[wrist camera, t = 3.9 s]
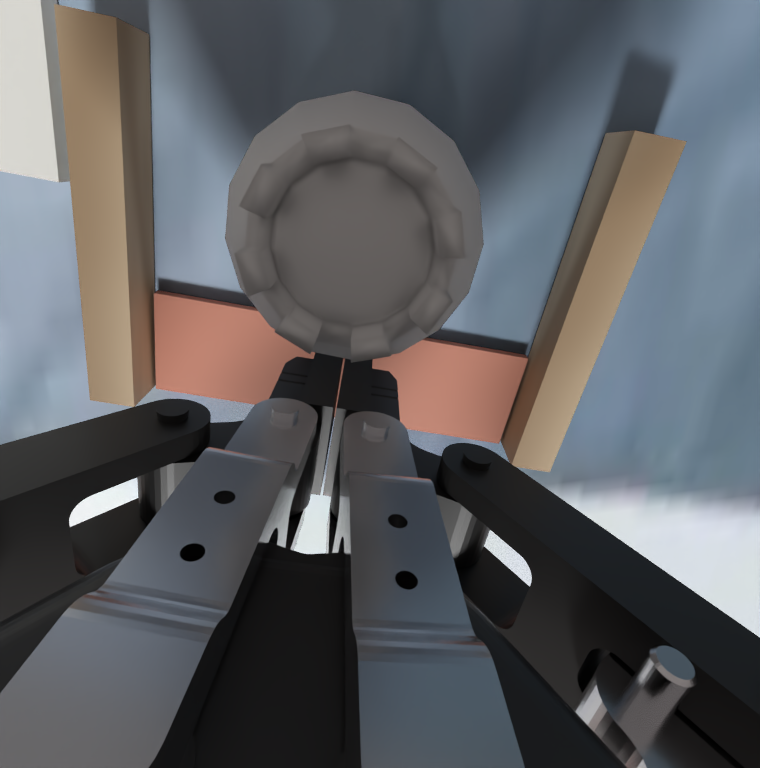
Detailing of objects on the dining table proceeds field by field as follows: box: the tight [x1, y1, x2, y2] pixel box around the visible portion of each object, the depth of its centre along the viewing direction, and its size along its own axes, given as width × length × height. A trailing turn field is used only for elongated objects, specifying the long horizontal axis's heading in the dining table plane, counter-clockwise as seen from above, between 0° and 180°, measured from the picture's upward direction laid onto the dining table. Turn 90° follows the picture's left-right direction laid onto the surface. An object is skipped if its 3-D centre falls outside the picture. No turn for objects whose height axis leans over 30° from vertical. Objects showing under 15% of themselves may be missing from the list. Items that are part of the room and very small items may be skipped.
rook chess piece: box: [225, 90, 484, 363], centre depth 9 cm, size 4×4×8 cm
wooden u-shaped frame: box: [54, 4, 686, 472], centre depth 13 cm, size 13×9×2 cm
